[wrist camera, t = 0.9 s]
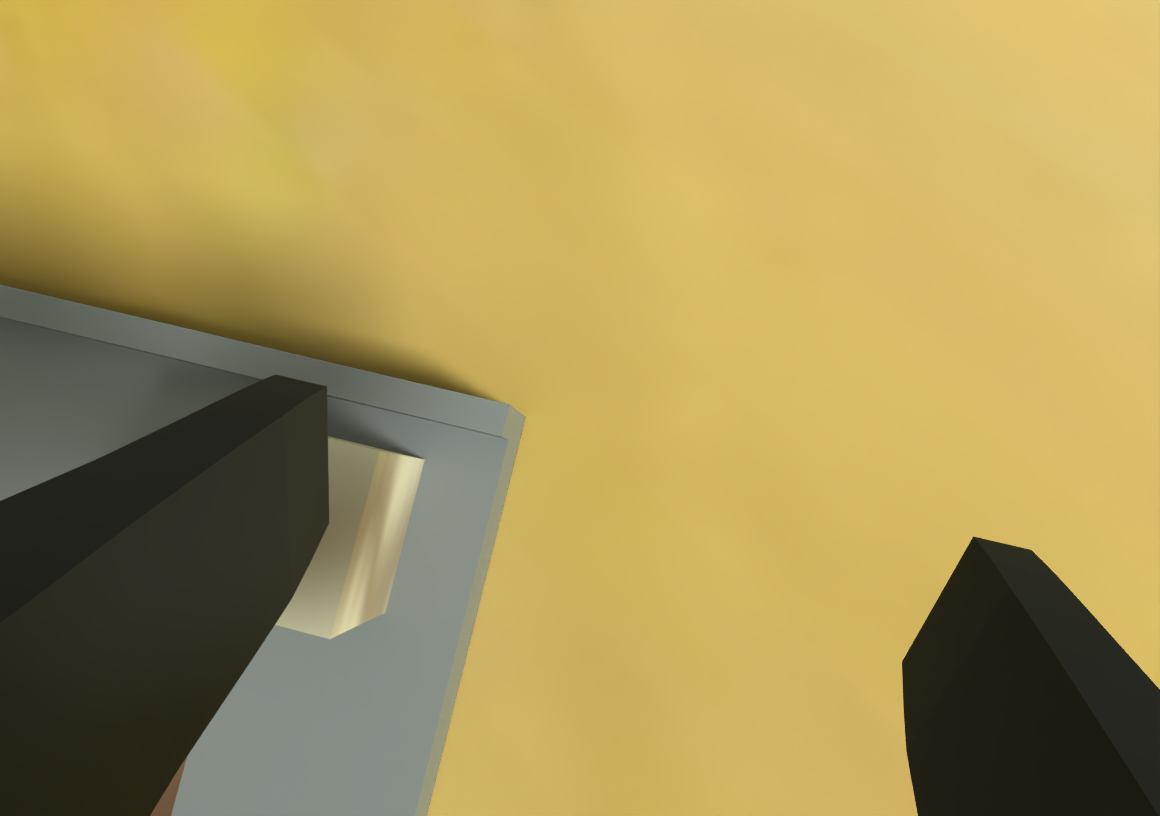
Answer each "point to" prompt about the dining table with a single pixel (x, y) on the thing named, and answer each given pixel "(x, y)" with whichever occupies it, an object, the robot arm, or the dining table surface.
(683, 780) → the dining table surface
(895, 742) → the dining table surface
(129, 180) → the dining table surface
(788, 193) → the dining table surface
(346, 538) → the birch block
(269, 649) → the box
